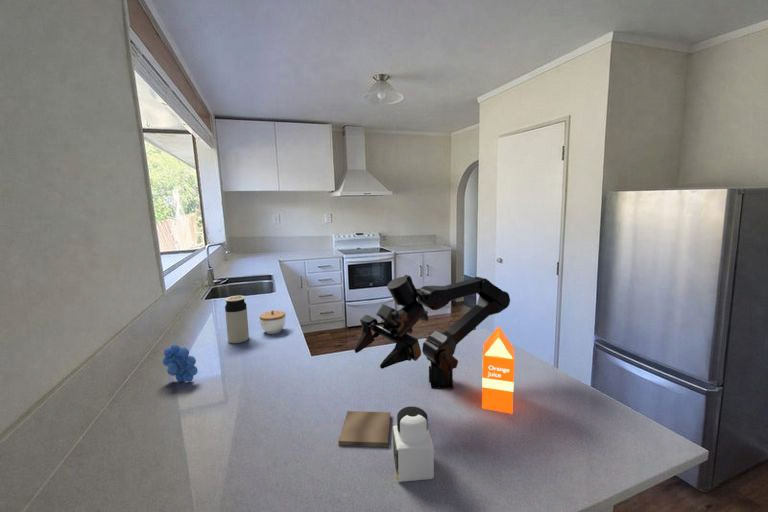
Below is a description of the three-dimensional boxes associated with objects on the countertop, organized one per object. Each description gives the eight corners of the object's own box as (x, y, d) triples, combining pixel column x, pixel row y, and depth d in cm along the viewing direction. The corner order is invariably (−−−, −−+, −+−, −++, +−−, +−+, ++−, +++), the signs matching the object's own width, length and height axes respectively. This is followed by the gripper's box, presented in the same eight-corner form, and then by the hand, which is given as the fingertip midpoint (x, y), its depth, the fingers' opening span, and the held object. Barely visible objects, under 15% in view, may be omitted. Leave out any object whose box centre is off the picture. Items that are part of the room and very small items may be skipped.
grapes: (154, 387, 100) (149, 349, 98) (172, 376, 106) (168, 340, 104) (187, 390, 97) (182, 352, 96) (203, 379, 104) (200, 343, 102)
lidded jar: (276, 325, 152) (275, 305, 151) (291, 329, 146) (290, 309, 144) (255, 332, 143) (254, 312, 142) (270, 337, 137) (269, 316, 136)
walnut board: (390, 415, 83) (390, 412, 83) (387, 446, 72) (387, 442, 72) (347, 414, 84) (347, 411, 84) (338, 445, 73) (338, 440, 73)
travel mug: (253, 338, 136) (249, 296, 134) (235, 345, 130) (231, 301, 127) (241, 335, 141) (238, 294, 138) (224, 341, 134) (220, 298, 132)
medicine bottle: (393, 455, 70) (392, 403, 68) (426, 452, 70) (426, 401, 69) (397, 483, 63) (396, 425, 61) (434, 479, 63) (434, 422, 62)
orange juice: (511, 395, 91) (514, 326, 89) (513, 413, 83) (515, 338, 80) (482, 390, 94) (484, 323, 91) (481, 408, 86) (482, 335, 83)
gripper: (374, 286, 91) (333, 323, 83) (428, 308, 79) (386, 353, 71) (384, 315, 97) (347, 352, 89) (436, 339, 85) (398, 384, 77)
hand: (367, 359), depth 81 cm, fingers open, 9 cm apart
